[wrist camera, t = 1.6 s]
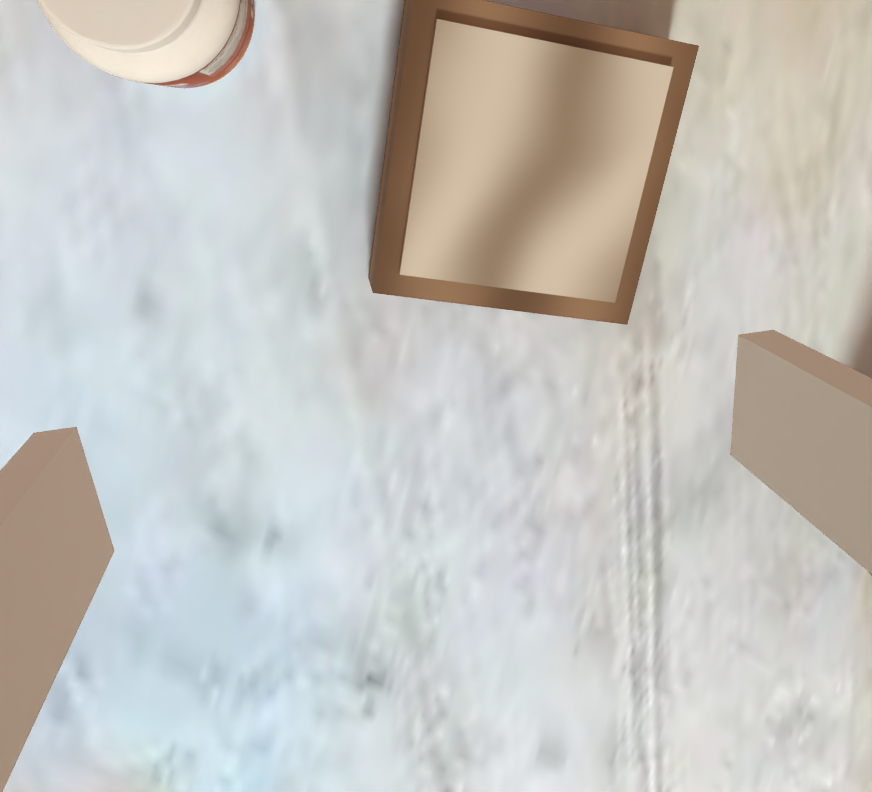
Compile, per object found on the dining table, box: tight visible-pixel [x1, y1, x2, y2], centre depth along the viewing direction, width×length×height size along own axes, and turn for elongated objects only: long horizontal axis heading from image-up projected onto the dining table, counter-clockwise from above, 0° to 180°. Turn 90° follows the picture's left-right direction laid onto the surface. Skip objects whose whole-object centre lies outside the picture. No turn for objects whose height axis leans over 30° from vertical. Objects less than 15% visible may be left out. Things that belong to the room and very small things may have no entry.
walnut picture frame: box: [369, 0, 699, 324], centre depth 32 cm, size 12×12×3 cm
